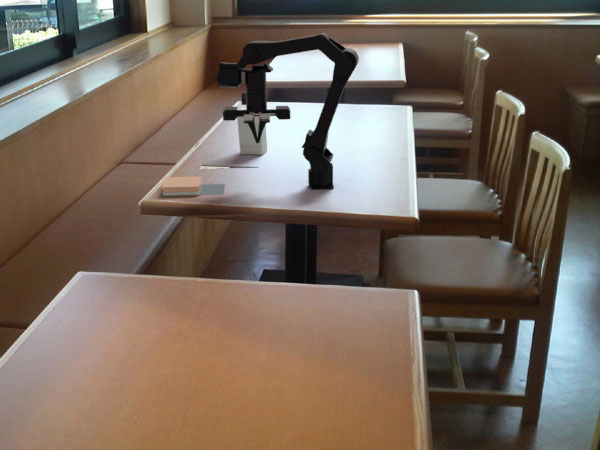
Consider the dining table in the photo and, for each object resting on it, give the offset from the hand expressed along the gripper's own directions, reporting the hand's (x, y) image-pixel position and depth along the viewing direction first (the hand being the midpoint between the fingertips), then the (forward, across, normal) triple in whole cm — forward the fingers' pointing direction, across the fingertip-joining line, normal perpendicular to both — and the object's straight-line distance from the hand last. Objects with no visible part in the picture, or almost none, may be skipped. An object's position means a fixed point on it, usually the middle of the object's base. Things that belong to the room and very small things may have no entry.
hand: (257, 142), depth 191 cm
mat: (+12, +16, +6) cm, 21 cm away
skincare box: (+12, +2, -33) cm, 35 cm away
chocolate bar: (+13, +10, -12) cm, 20 cm away
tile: (+10, +16, +6) cm, 20 cm away
